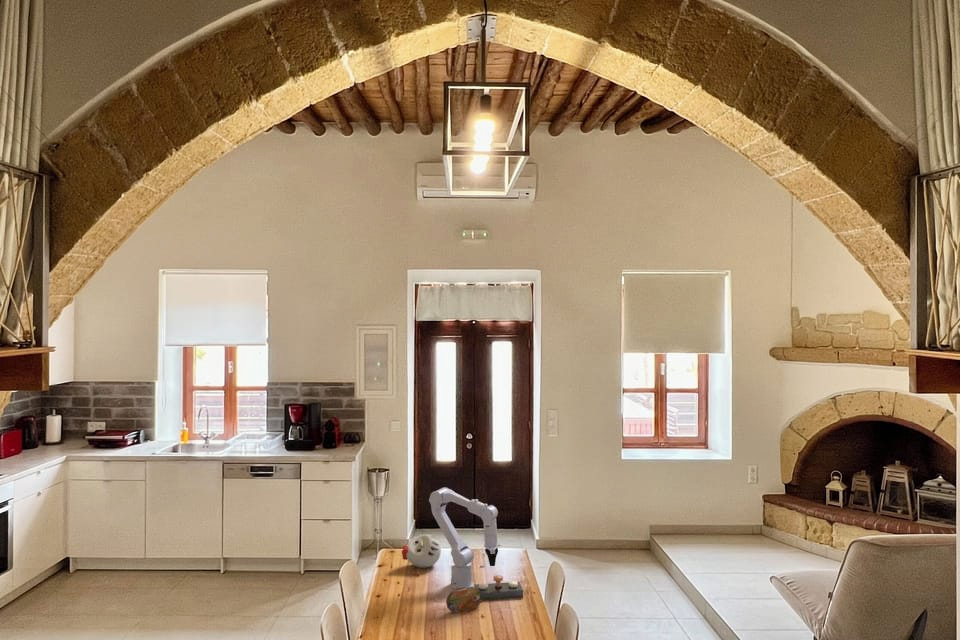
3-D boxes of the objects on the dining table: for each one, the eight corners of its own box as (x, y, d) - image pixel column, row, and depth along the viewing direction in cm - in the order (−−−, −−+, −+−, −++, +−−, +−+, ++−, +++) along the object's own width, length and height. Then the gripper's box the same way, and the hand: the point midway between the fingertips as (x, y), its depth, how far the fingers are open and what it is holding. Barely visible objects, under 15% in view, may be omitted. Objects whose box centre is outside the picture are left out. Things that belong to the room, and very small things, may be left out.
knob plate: (476, 600, 276) (476, 593, 276) (474, 591, 286) (474, 584, 286) (523, 597, 278) (523, 590, 278) (519, 588, 288) (519, 581, 288)
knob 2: (509, 595, 280) (509, 584, 280) (508, 591, 284) (508, 581, 284) (518, 594, 281) (518, 584, 281) (517, 591, 285) (517, 581, 285)
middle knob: (494, 588, 280) (494, 578, 280) (493, 585, 284) (493, 575, 284) (503, 588, 280) (503, 578, 280) (502, 584, 284) (502, 574, 284)
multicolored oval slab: (448, 615, 262) (448, 594, 262) (445, 612, 264) (444, 591, 265) (481, 607, 269) (481, 586, 269) (478, 604, 271) (477, 584, 272)
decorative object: (399, 564, 323) (398, 534, 323) (435, 559, 329) (435, 529, 329) (405, 575, 308) (405, 542, 309) (444, 569, 314) (443, 538, 315)
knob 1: (479, 596, 279) (479, 586, 279) (478, 593, 283) (478, 583, 283) (488, 596, 279) (488, 586, 280) (487, 592, 283) (487, 582, 284)
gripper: (501, 538, 281) (503, 570, 281) (498, 529, 296) (499, 559, 295) (484, 539, 281) (486, 571, 280) (482, 530, 295) (484, 561, 295)
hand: (492, 565), depth 288 cm, fingers closed
